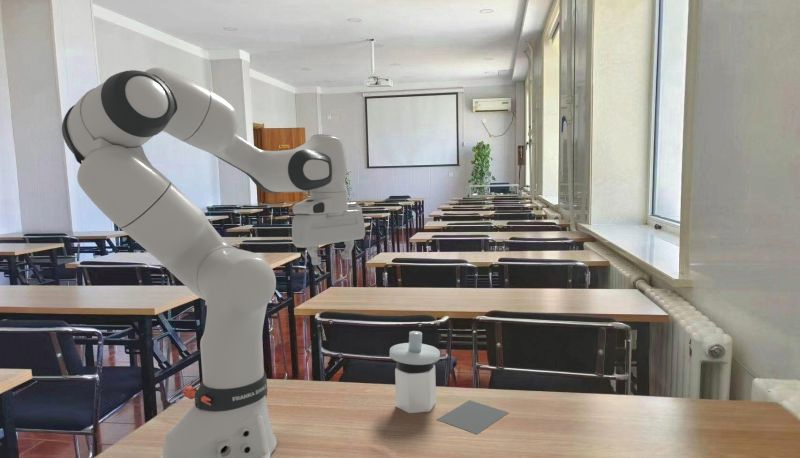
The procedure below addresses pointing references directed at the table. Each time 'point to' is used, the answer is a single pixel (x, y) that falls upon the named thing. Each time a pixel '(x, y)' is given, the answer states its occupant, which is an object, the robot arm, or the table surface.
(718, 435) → the table surface
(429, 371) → the jar
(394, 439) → the table surface
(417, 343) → the lid
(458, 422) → the mat
